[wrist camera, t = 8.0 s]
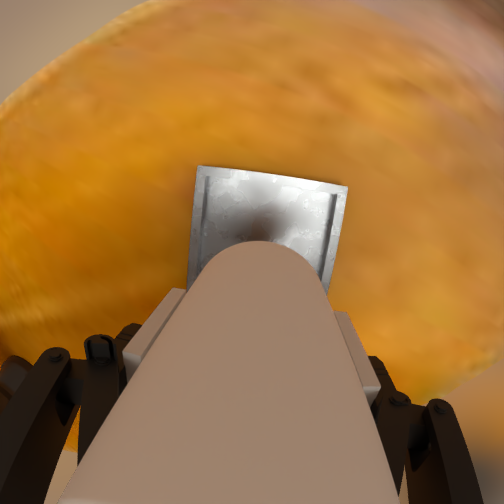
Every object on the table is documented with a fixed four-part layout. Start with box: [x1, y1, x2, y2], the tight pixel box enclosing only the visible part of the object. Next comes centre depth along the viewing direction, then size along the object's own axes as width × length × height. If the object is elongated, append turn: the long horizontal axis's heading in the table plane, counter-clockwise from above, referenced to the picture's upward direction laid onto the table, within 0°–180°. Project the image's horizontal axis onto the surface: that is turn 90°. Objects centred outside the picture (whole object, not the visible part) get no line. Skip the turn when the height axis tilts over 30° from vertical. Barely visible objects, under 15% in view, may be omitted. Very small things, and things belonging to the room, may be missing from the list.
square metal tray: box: [186, 165, 348, 296], centre depth 34 cm, size 16×16×3 cm
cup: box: [57, 241, 400, 504], centre depth 11 cm, size 8×8×16 cm
